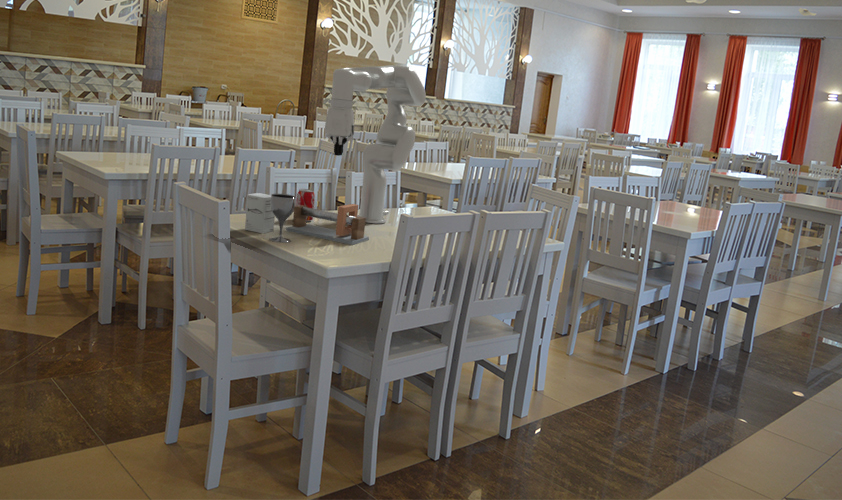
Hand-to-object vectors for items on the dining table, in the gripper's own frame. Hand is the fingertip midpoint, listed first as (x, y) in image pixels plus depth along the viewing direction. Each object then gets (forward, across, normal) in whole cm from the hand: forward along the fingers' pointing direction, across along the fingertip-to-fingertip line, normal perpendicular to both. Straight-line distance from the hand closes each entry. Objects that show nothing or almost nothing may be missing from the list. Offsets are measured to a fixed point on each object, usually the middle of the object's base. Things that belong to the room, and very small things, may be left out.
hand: (338, 155), depth 247 cm
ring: (+25, +13, -14) cm, 31 cm away
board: (+27, +5, -14) cm, 31 cm away
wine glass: (+26, -1, -34) cm, 43 cm away
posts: (+27, +5, -14) cm, 31 cm away
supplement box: (+27, -14, -27) cm, 41 cm away
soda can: (+28, -14, +2) cm, 31 cm away
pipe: (+22, +5, -14) cm, 26 cm away
